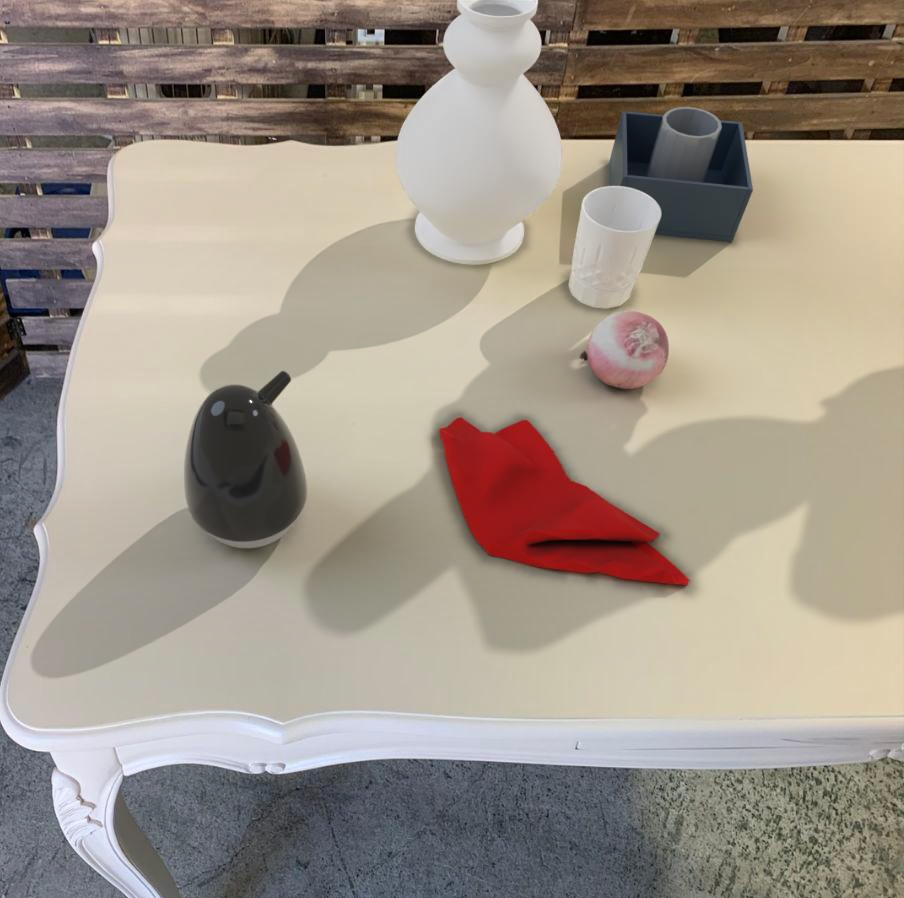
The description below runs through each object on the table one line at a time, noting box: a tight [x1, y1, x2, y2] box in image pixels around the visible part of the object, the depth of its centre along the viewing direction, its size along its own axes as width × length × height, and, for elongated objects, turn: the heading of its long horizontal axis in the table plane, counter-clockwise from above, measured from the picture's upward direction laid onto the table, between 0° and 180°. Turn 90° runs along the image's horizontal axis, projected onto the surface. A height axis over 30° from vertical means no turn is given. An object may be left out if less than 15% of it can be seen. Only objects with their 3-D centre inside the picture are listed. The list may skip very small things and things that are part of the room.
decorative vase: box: [394, 0, 563, 265], centre depth 94 cm, size 18×18×25 cm
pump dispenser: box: [183, 370, 308, 549], centre depth 73 cm, size 10×10×15 cm
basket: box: [608, 110, 754, 244], centre depth 105 cm, size 14×14×7 cm
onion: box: [579, 310, 670, 391], centre depth 87 cm, size 8×8×7 cm
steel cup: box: [645, 106, 722, 183], centre depth 104 cm, size 6×6×9 cm
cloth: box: [438, 417, 690, 586], centre depth 79 cm, size 26×14×2 cm, turn 36°
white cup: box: [567, 185, 661, 310], centre depth 94 cm, size 8×8×10 cm
